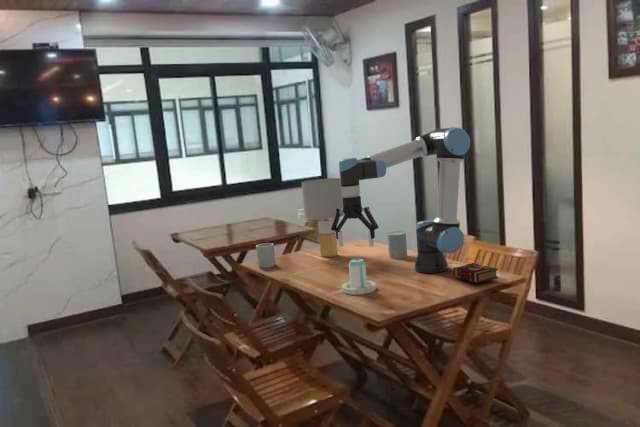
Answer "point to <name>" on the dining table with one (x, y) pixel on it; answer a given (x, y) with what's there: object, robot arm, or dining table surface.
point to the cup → (265, 255)
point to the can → (357, 273)
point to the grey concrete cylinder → (397, 245)
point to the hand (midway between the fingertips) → (356, 246)
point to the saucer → (370, 288)
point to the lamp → (323, 209)
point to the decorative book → (475, 272)
